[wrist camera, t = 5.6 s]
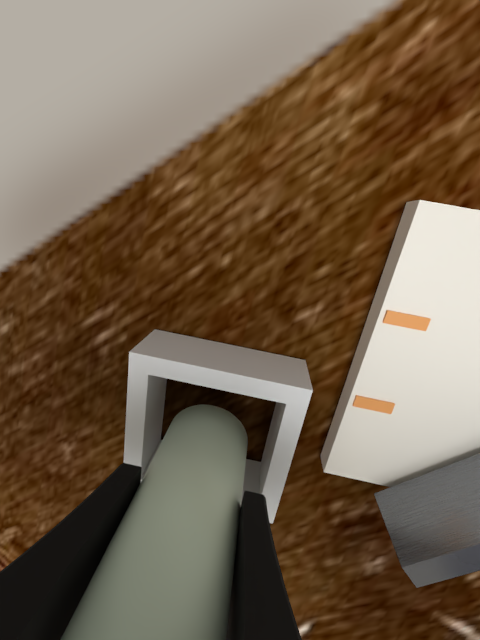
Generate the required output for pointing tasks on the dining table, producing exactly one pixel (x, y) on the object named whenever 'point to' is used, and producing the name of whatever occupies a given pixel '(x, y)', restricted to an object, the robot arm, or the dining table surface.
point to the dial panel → (415, 356)
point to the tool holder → (223, 374)
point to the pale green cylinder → (173, 540)
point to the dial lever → (436, 522)
